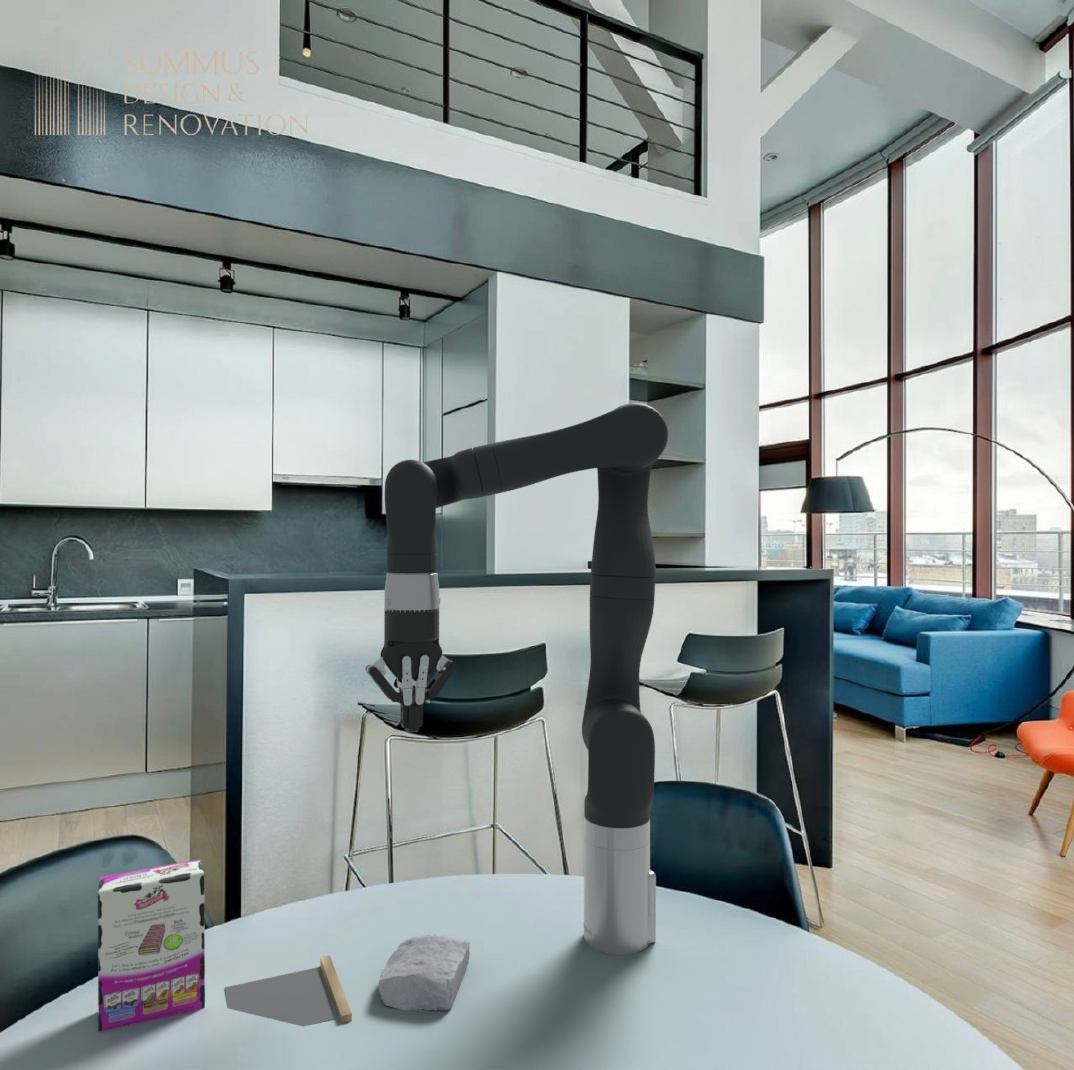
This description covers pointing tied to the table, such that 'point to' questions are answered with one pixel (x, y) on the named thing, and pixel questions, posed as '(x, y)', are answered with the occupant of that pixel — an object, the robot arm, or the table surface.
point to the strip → (335, 989)
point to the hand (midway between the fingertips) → (411, 730)
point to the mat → (283, 998)
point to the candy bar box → (150, 944)
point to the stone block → (424, 973)
